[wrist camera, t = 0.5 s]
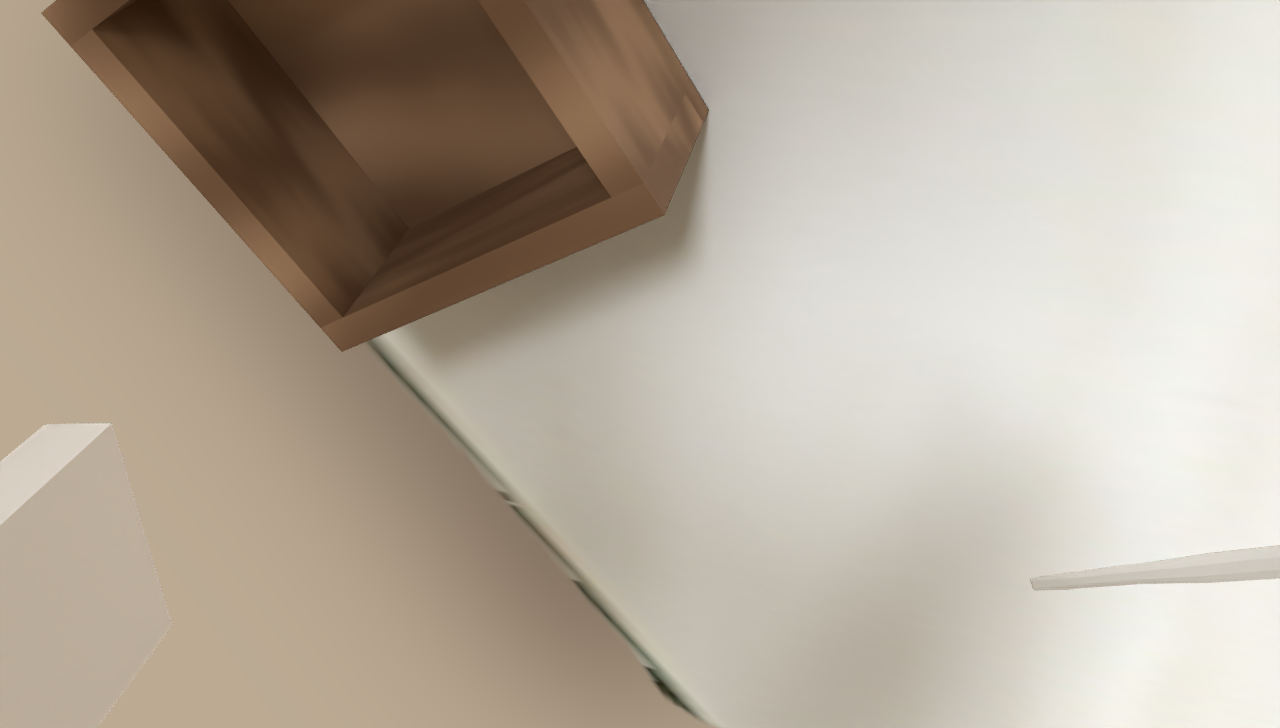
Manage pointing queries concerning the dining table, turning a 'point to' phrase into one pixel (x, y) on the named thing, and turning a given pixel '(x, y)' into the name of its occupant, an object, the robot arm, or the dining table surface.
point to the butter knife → (1175, 570)
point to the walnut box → (402, 134)
